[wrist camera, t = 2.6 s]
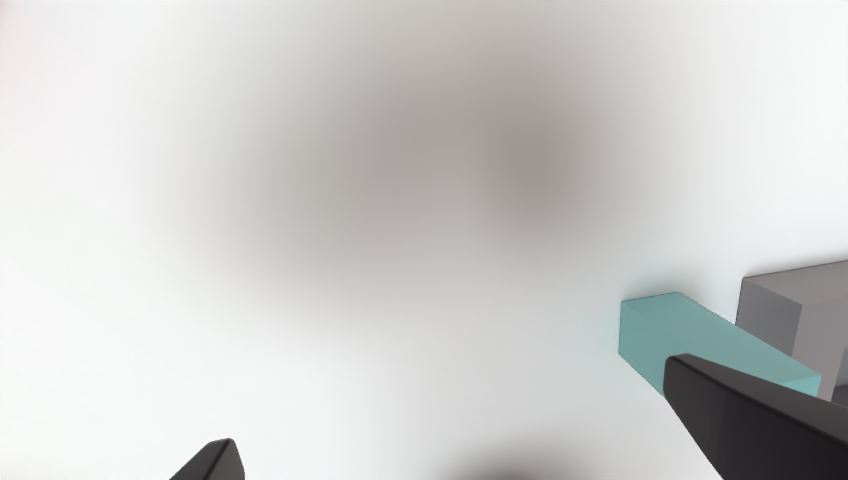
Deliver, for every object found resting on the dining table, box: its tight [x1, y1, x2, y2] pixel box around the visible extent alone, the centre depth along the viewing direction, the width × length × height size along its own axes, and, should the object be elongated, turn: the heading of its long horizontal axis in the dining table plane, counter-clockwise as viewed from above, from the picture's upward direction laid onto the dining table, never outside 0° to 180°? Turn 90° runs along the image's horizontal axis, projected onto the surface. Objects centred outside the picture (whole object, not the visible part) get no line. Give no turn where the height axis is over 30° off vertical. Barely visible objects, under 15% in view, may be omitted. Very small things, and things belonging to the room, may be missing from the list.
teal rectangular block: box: [619, 292, 822, 399], centre depth 21 cm, size 4×4×8 cm
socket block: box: [736, 261, 848, 408], centre depth 25 cm, size 12×12×4 cm
